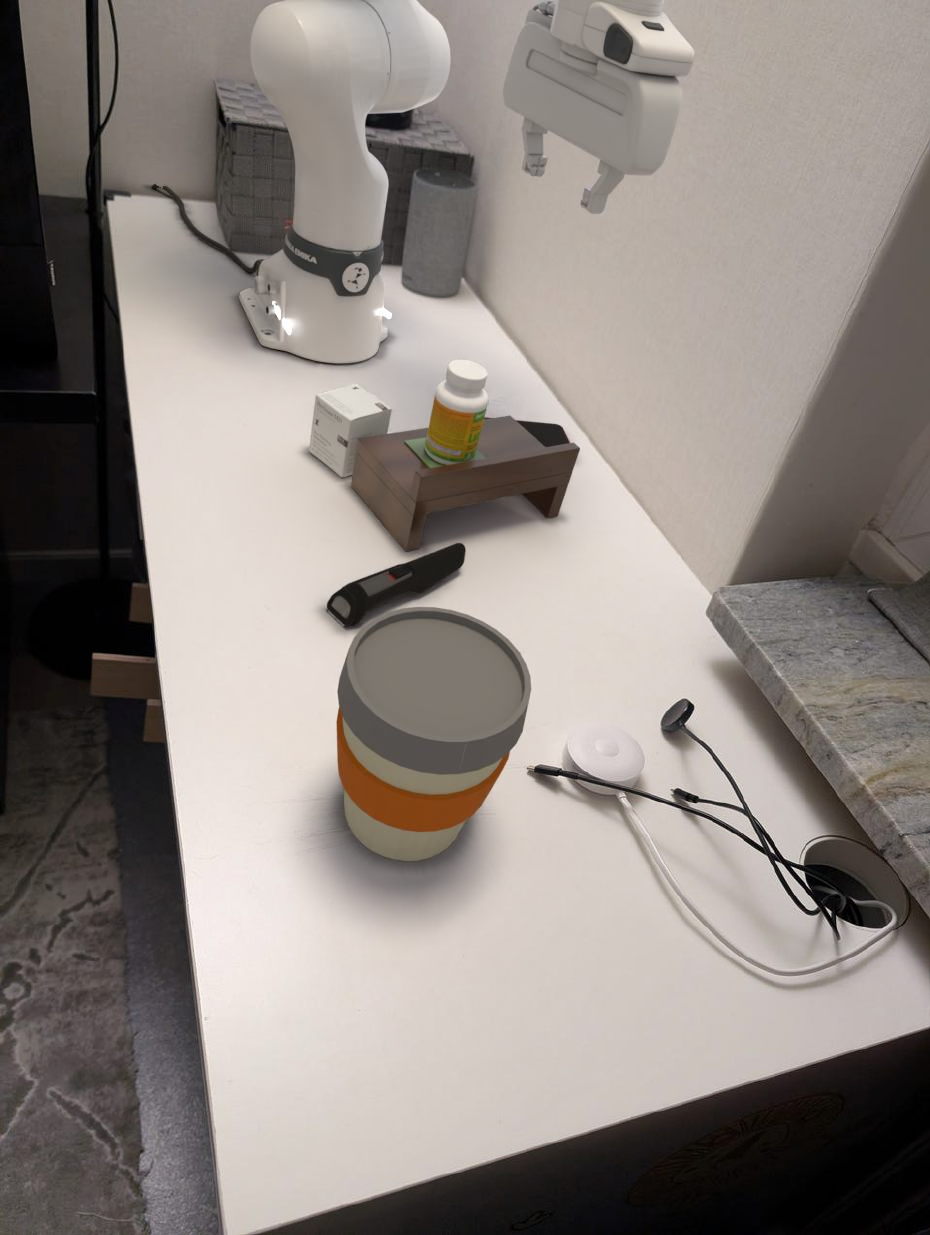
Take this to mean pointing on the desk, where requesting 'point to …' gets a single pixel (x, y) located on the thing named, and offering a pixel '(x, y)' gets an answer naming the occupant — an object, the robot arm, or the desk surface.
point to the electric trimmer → (394, 584)
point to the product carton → (345, 425)
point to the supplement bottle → (457, 413)
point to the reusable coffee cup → (425, 726)
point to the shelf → (457, 475)
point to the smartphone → (545, 432)
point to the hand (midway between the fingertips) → (560, 192)
